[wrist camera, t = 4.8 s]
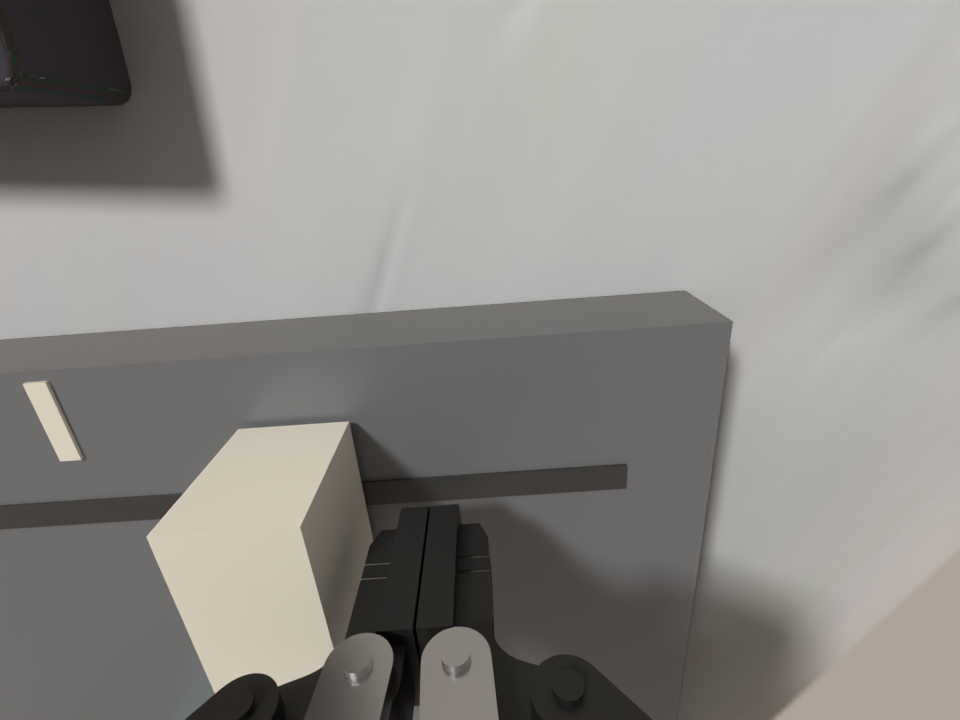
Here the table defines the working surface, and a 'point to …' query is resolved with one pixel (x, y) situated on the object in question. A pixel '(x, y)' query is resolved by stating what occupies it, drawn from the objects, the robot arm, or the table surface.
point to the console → (365, 478)
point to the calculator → (60, 54)
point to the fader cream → (268, 551)
